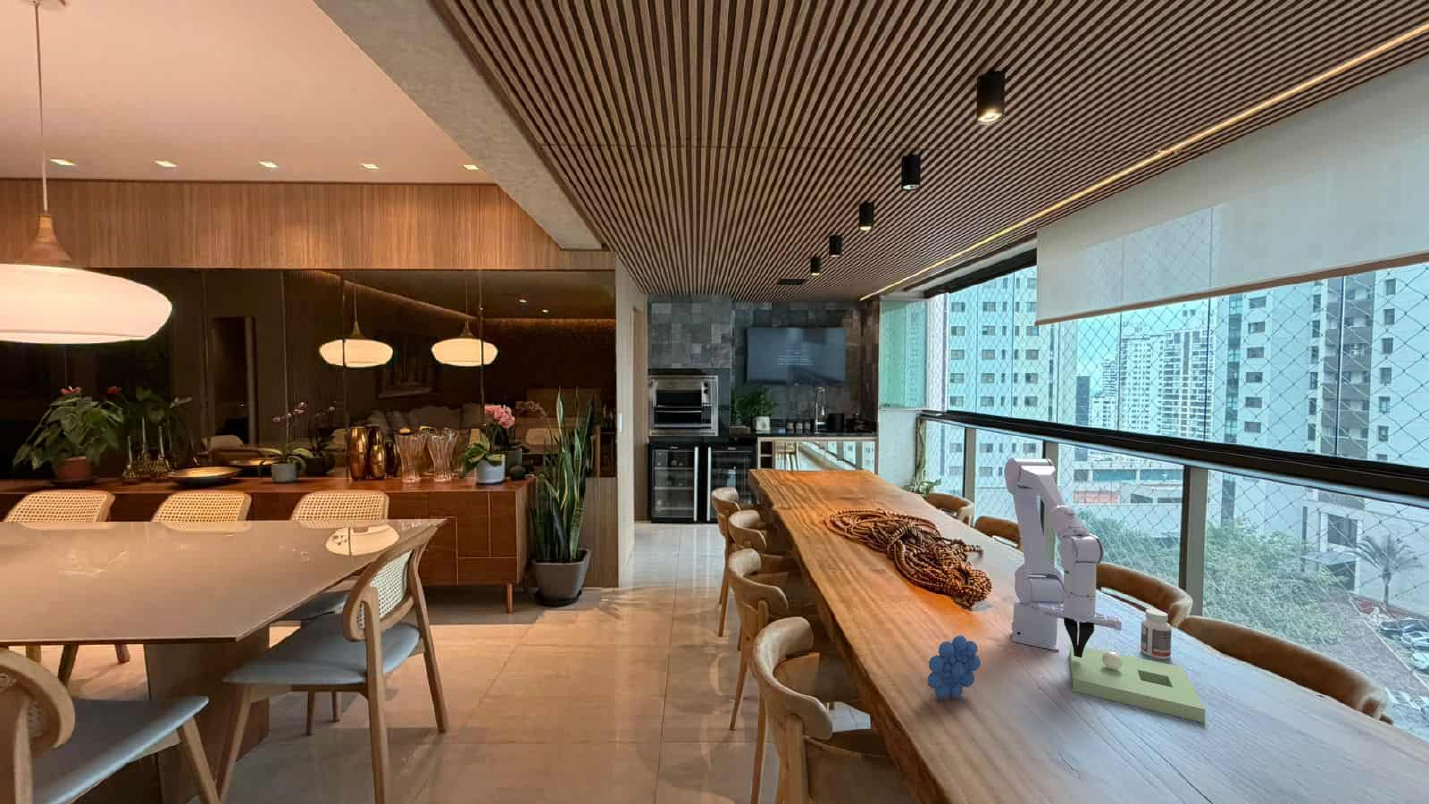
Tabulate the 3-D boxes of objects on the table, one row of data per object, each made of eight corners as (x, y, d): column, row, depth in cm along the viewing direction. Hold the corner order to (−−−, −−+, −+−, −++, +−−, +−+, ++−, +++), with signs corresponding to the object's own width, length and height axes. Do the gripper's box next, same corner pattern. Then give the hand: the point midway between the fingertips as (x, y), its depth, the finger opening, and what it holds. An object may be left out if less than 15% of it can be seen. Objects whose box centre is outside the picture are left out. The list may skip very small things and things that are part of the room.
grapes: (963, 682, 112) (964, 624, 112) (987, 700, 106) (989, 638, 106) (913, 689, 109) (915, 630, 109) (936, 708, 103) (937, 645, 103)
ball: (1102, 670, 113) (1102, 653, 113) (1100, 663, 116) (1101, 646, 116) (1123, 674, 112) (1123, 657, 111) (1121, 667, 115) (1121, 651, 114)
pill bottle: (1174, 656, 125) (1175, 613, 125) (1165, 662, 122) (1166, 619, 122) (1145, 646, 130) (1147, 606, 130) (1136, 652, 127) (1137, 610, 127)
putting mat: (1073, 690, 110) (1073, 678, 110) (1069, 654, 125) (1069, 643, 125) (1204, 723, 100) (1205, 709, 100) (1182, 679, 115) (1183, 667, 115)
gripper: (1039, 590, 117) (1038, 653, 117) (1124, 605, 110) (1122, 672, 110) (1039, 581, 123) (1038, 641, 123) (1119, 594, 116) (1117, 658, 116)
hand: (1077, 655), depth 117 cm, fingers closed
